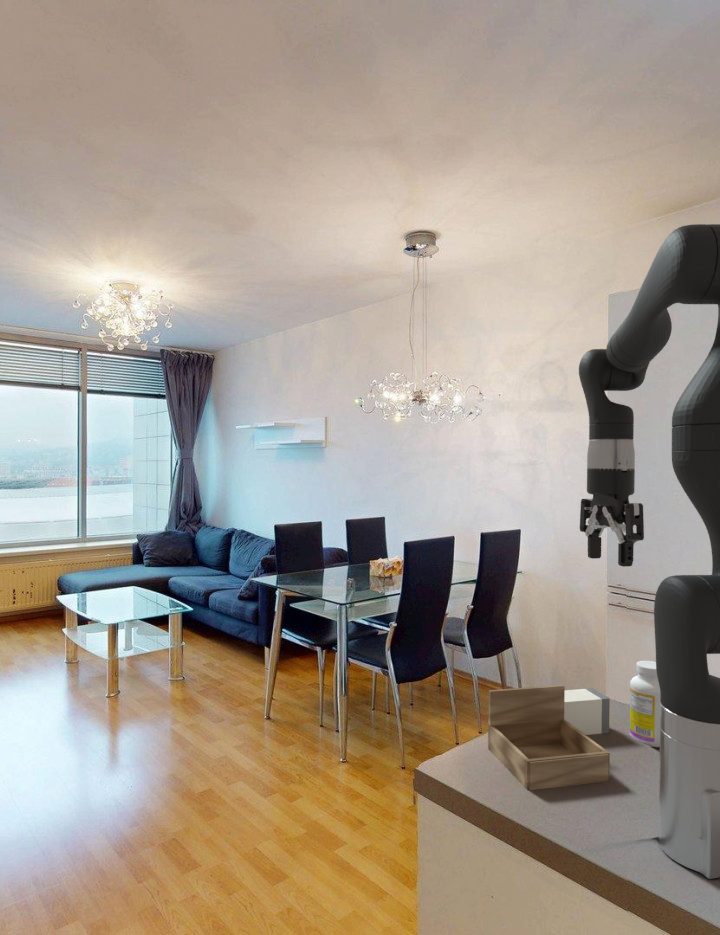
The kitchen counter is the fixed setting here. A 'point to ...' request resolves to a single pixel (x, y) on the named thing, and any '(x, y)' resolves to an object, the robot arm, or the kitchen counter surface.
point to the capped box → (587, 710)
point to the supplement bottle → (645, 704)
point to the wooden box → (542, 739)
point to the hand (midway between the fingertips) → (609, 562)
